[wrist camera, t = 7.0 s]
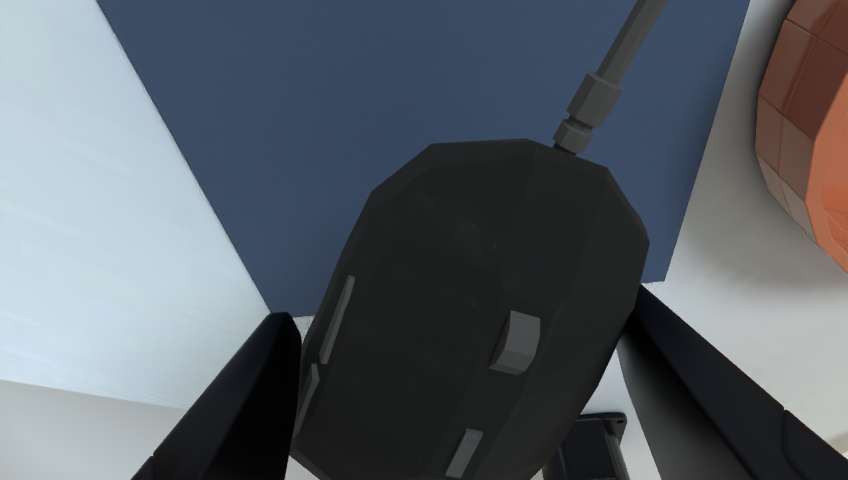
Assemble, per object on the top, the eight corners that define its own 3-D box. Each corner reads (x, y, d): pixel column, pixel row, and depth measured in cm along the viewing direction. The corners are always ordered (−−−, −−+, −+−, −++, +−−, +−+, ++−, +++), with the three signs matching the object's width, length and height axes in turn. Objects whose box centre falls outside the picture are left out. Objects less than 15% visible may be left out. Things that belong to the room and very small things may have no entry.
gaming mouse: (854, 34, 7) (1149, 195, 4) (461, 448, 16) (463, 588, 13) (460, -156, 6) (467, -124, 3) (280, 409, 15) (237, 553, 12)
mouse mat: (661, 275, 24) (664, 281, 24) (276, 313, 25) (274, 319, 25) (893, -509, 9) (909, -519, 9) (-60, -300, 11) (-74, -302, 10)
